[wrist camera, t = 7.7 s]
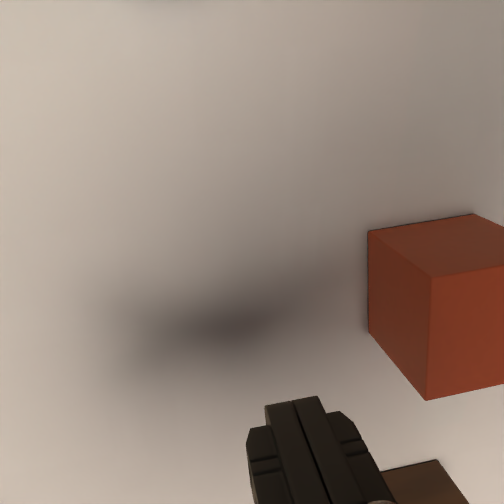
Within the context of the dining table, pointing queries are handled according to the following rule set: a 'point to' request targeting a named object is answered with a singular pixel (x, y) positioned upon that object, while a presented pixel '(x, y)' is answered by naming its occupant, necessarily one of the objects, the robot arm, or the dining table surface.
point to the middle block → (440, 302)
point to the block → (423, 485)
